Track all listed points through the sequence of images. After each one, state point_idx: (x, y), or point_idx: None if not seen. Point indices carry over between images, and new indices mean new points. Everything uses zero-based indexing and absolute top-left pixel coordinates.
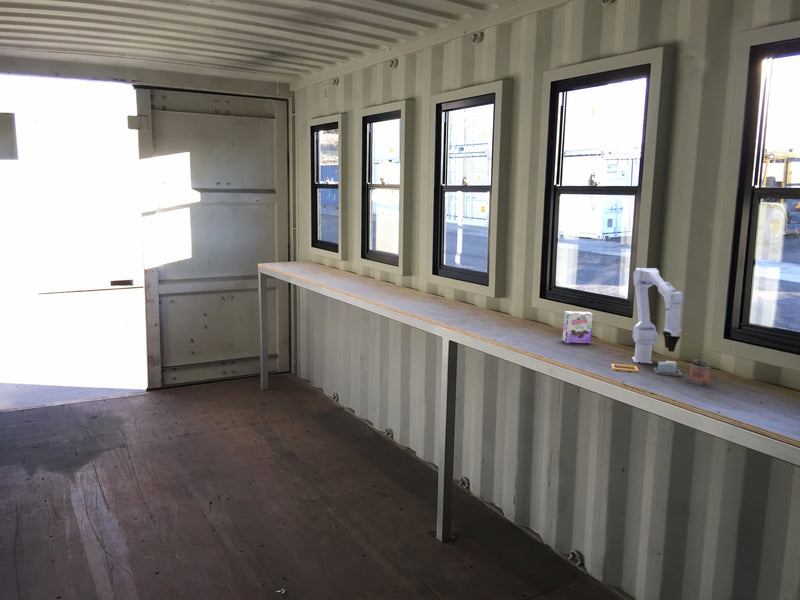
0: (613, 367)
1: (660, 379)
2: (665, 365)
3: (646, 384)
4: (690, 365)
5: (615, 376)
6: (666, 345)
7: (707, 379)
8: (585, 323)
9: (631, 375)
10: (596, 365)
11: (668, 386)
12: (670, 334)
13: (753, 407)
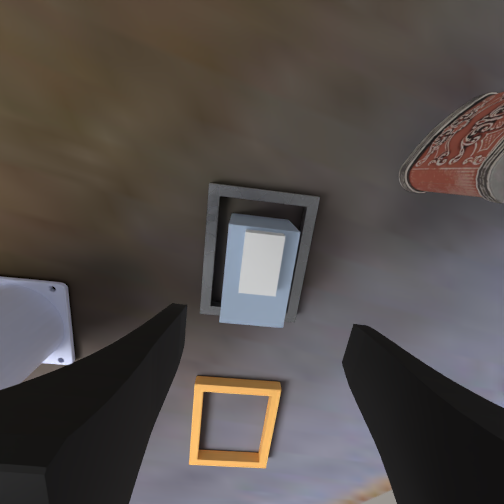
0: (255, 466)
1: (386, 319)
2: (287, 296)
3: None
4: (498, 202)
5: (358, 462)
6: (178, 362)
7: None
8: None
9: (334, 412)
10: (203, 495)
11: (498, 316)
12: (96, 501)
13: None
